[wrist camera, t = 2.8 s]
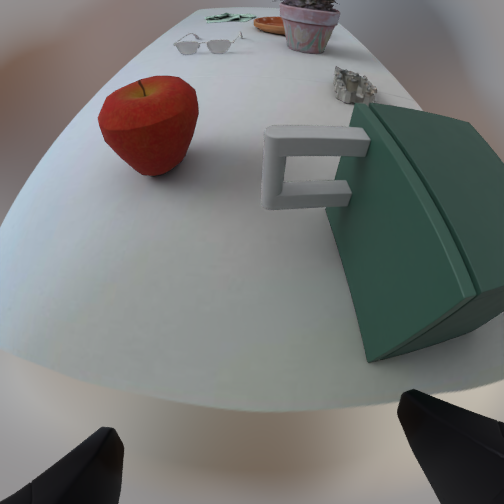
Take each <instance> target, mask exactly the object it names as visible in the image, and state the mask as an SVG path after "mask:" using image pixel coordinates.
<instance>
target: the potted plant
mask: <svg viewBox="0 0 504 504" xmlns="http://www.w3.org/2000/svg"><path fill="white" fill-rule="evenodd" d="M333 2H335V0H285V1H283V2H281V3H280V17H281V18H282V19H283V24H284V29H285V34H286V40H287V45H288V47H289V48H290V49H292V50H295V51H300V52H304V53H314V54H317V53H322V52H323V51H324V50H325V47H326V45H327V43H328V40H329V38H330V36H331V34H332V31H333V29H334V27H335V26H336V25H337V24H338V20H339V17H340V12H339V11H338V10H336V9H333V8H332V7H333V6H334V5H331V3H333ZM335 3H336V2H335Z"/></svg>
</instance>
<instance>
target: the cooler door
mask: <svg viewBox="0 0 504 504" xmlns="http://www.w3.org/2000/svg"><path fill="white" fill-rule="evenodd" d="M286 156H341V158H340V162H339V165H338V169H337V172H336V176H335V179H334V180H324V181H291V182H283V180H284V172H285V164H286ZM261 205H262V206H263V207H264V208H265V209H268V210H281V209H299V208H318V207H326V209H325V210H326V213H327V216H328V219H329V222H330V225H331V228H332V231H333V234H334V237H335V241H336V244H337V247H338V250H339V253H340V257H341V260H342V263H343V267H344V270H345V274H346V277H347V281H348V284H349V288H350V292H351V295H352V299H353V303H354V307H355V311H356V315H357V319H358V323H359V327H360V331H361V335H362V339H363V344H364V348H365V353H366V357H367V362H368V363H370V362H374V361H378V360H380V359H381V358H383V357H385V356H387V355H388V354H390V353H392V352H394V351H395V350H397V349H399V348H400V347H402V346H404V345H405V344H407V343H409V342H410V341H412V340H414V339H415V338H417V337H418V336H420V335H421V334H423V333H425V332H426V331H428V330H429V329H431V328H432V327H434V326H435V325H437V324H438V323H439V322H441V321H442V320H444V319H445V318H447V317H448V316H449V315H451V314H452V313H454V312H455V311H456V310H458V309H459V308H460V307H462V306H463V305H464V304H466V303H467V302H468V301H470V300H471V299H472V298H474V297H475V296H476V291H475V289H474V286H473V283H472V281H471V278H470V276H469V273H468V271H467V269H466V266H465V264H464V262H463V259H462V257H461V255H460V253H459V250H458V248H457V246H456V244H455V242H454V240H453V238H452V236H451V234H450V232H449V230H448V228H447V226H446V224H445V222H444V220H443V218H442V216H441V214H440V213H439V211H438V209H437V207H436V205H435V204H434V202H433V200H432V198H431V197H430V195H429V193H428V191H427V190H426V188H425V186H424V185H423V183H422V181H421V180H420V178H419V177H418V175H417V173H416V172H415V170H414V169H413V167H412V166H411V164H410V163H409V161H408V160H407V158H406V157H405V155H404V154H403V152H402V151H401V149H400V148H399V147H398V145H397V144H396V142H395V141H394V140H393V138H392V137H391V135H390V134H389V133H388V131H387V130H386V129H385V127H384V126H383V125H382V123H381V122H380V121H379V120H378V118H377V117H376V116H375V115H374V113H373V112H372V111H371V110H370V108H369V107H368V106H367V105H366V104H363V103H355V105H354V109H353V113H352V117H351V121H350V125H349V127H343V126H319V125H272V126H269V127H267V128H266V129H265V131H264V149H263V169H262V188H261Z"/></svg>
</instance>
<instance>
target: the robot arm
mask: <svg viewBox="0 0 504 504" xmlns="http://www.w3.org/2000/svg"><path fill="white" fill-rule="evenodd" d="M397 415H398V418H399V420H400V423H401V425H402V427H403V430H404V432H405V435H406V437H407V440H408V442H409V445H410V447H411V449H412V451H413V453H414V455H415V457H416V459H417V461H418V462H419V464H420V466H421V468H422V470H423V471H424V473H425V475H426V477H427V479H428V481H429V482H430V484H431V486H432V488H433V490H434V492H435V494H436V496H437V497H438V499H439V501H440V503H441V504H504V423H503V422H500V421H499V422H498V421H497V420H494V419H491V418H488V417H485V416H482V415H480V414H477V413H474V412H471V411H469V410H466V409H463V408H461V407H458V406H455V405H453V404H450V403H448V402H445V401H443V400H440V399H437V398H435V397H433V396H430V395H428V394H425V393H423V392H420V391H418V390H415V389H412V390H409V391H406V392H404V393H403V394H402V395H401V399H400V402H399V406H398V409H397ZM123 457H124V446H123V443H122V441H121V439H120V437H119V436H118V434H117V432H116V430H115V429H114V428H110V427H101V428H99V429H98V430H97V431H96V432H95V433H93V434H92V435H91V436H89V437H88V438H87V439H86V440H84V441H83V442H82V443H81V444H80V445H78V446H77V447H76V448H75V449H73V450H72V451H71V452H69V453H68V454H67V455H66V456H64V457H63V458H62V459H60V460H59V461H58V462H56V463H55V464H54V465H53V466H51V467H50V468H49V469H47V470H46V471H45V472H43V473H42V474H41V475H39V476H38V477H37V478H36V479H34V480H33V481H32V482H31V483H29V484H27V485H26V486H24V487H23V488H22V489H20V490H19V491H17V492H16V493H15V494H13V495H11V496H9V497H8V498H6V499H4V500H2V501H1V502H0V504H118V503H119V497H120V492H121V484H122V470H123Z"/></svg>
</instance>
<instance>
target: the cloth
mask: <svg viewBox="0 0 504 504" xmlns="http://www.w3.org/2000/svg"><path fill="white" fill-rule="evenodd" d="M252 17H253V18H254V17H257V16H255V15H252V14H229V13H225V14H221V15H215V16H209V17H205V19H208V20H207V23H212V22H226V21H230V20H231V19H232V20H231V21H240V22H246V21H248V20H250V19H253V18H252Z"/></svg>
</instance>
